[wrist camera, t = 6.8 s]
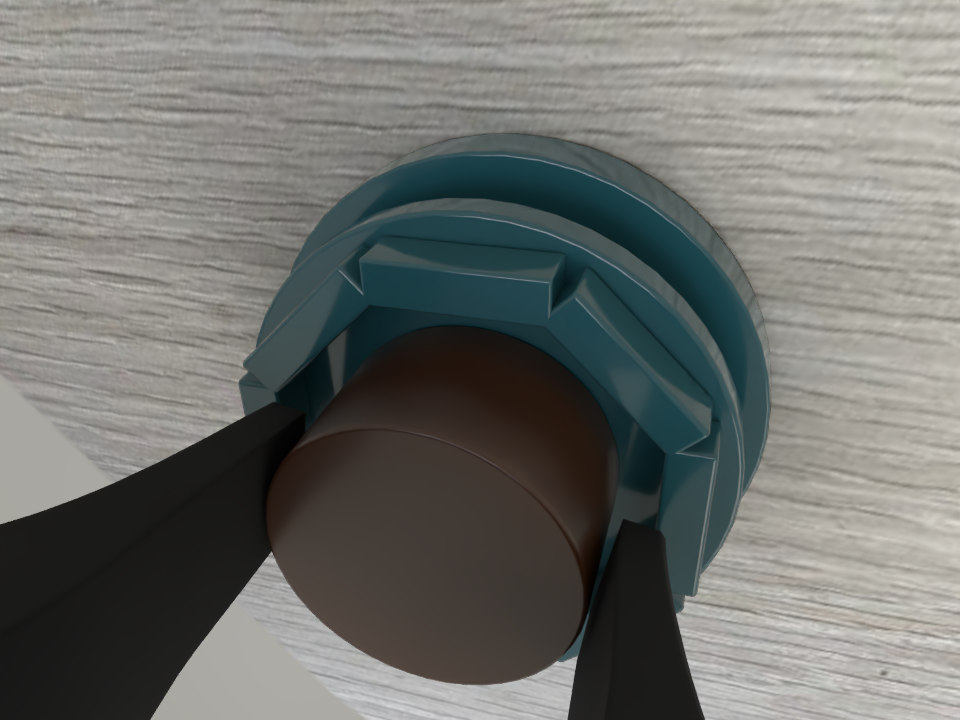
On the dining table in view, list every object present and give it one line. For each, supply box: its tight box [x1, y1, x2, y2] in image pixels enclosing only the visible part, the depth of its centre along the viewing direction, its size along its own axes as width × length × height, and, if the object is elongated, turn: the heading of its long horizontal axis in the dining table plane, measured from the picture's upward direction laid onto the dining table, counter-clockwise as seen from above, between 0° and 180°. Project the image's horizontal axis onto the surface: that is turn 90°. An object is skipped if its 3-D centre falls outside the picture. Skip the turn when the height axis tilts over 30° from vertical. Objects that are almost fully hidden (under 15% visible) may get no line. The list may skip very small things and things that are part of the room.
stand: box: [239, 134, 771, 662], centre depth 15 cm, size 10×10×4 cm
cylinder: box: [265, 326, 619, 685], centre depth 13 cm, size 5×5×3 cm
